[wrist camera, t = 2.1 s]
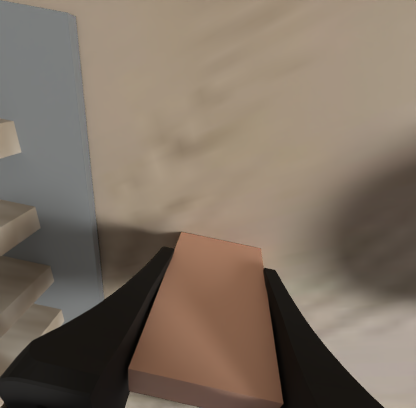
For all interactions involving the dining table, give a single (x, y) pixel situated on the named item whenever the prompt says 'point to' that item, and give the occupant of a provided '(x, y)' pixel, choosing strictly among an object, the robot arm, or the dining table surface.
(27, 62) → the slate mat
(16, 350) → the domino
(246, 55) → the dining table surface
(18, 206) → the domino
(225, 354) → the terracotta domino
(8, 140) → the domino
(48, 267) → the domino
